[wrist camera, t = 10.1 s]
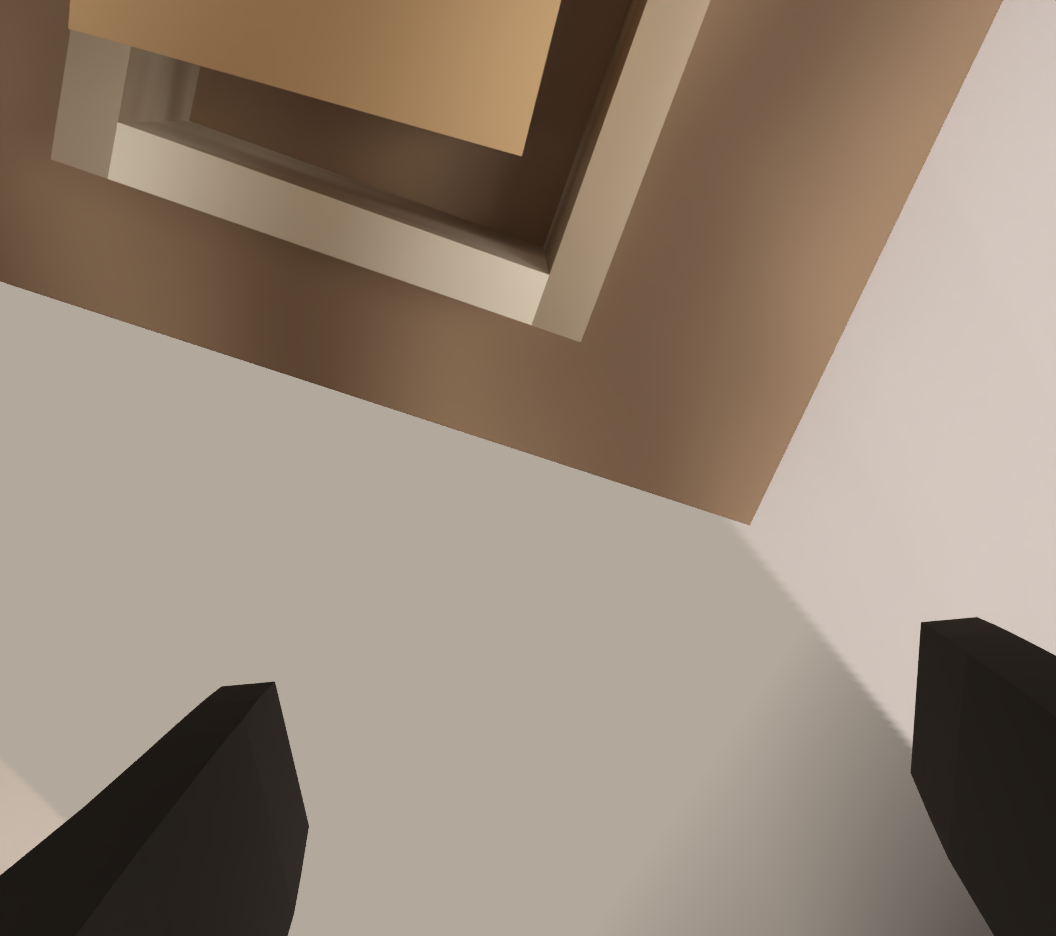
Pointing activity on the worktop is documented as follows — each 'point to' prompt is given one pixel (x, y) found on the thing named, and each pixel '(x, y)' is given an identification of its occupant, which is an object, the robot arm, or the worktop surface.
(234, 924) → the robot arm
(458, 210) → the walnut board
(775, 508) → the worktop surface
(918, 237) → the worktop surface
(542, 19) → the oak peg
